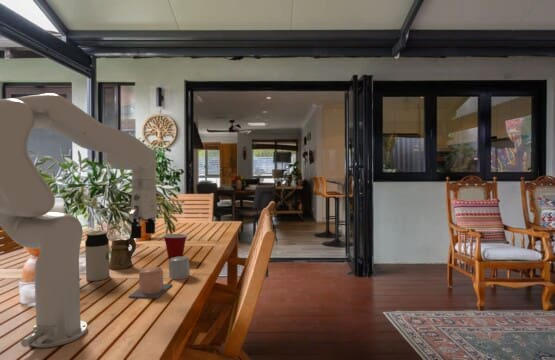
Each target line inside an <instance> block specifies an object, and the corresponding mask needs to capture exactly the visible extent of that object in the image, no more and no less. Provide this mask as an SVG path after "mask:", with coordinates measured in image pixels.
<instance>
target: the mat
mask: <svg viewBox="0 0 555 360" xmlns="http://www.w3.org/2000/svg"><path fill="white" fill-rule="evenodd" d="M172 287H173V284H172V283H163V289H162V290H161V291H160V292H157V293H153V294H142V293H141V292H140V287H139V288H137V289H136V290H135V291H134V292H132V293H131V294H129V296H128V298H130V299H159V298H160V297H161V296H163V295H164V294H165V293H166V292H167V291H168V290H169V289H170V288H172Z"/></svg>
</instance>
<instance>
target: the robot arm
mask: <svg viewBox="0 0 555 360" xmlns="http://www.w3.org/2000/svg"><path fill="white" fill-rule="evenodd" d="M40 129H48V130H50V131H53V132H54V133H56V134H58V135H59V136H61V137H63V138H65V139H67V140H68V141H70V142H72V143H73V144H75V145H76V146H78V147H80V148H83V149H86V150H89V151H94V152H99V153H106V162H107V164H108V165H109V166H110V167H111V168H113V169H115V170H119V171H121V170H123V171H125V170H126V171H127V170H128V171H129V170H131V190H132V191H131V201H130V211H129V213H128V219H129V223H130V224H129V226H130V229H131V230H130V236H131V238H134V239H142V222H143V220H146V221H145V234H149V235H150V234H155V232H156V217H157V216H158V201H157V192H156V190H157V182H156V181H157V152H156V150H155V149H152V148H149V147H148V146H147V145H146V144H145V143H144V142H143V141H141V140H140V139H138V138H137V137H135V136H133V135H132V134H130V133H127V132H125V131H123V130H120V129H118V128H115V127H112V126H110V125H107V124H104V123H102V122H100V121H98V120H97V119H96V118H94V117H93V116H91V115H90V114H88V113H87V112H86V111H84V110H82V109H81V108H79V107H78V106H77V105H75V104H74V103H73V102H71V101H70V100H68V98H65V97H64V96H62V95H60V94H56V93H41V94H33V95H26V96H20V97H12V98H0V227H1V228H2V230H4V232H5V233H6V234H7V235H8V236H9V238H11V240H12V241H13V242H14V243H16V244H18V245H19V246H20V247H21V246H22V247H24V248H29V249H35V250H36V249H37V250H39V254H38V257H37V259H36V260H35V265H34V270H33V272H34V273H33V274H34V275H33V276H34V297H35V325H34V326H33V331H32V332H31V334H29V335H27V336H26V337H24V338H22V340H21V341H20V344H21V347H23V348H27V347H28V346H29V347H30V346H32V347H34V348H40V349H41V348H43V349H44V348H45V349H46V348H54V347H60V346H62V345H65V344H69V343H71V342H73V341H75V340H78V339H79V338H81V337H83V335H85V334H86V333H87V332H88V326H89V325H88V323H87V322H86V321H84V320H81V288H80V284H81V283H80V249H81V243H82V239H83V233H84V232H83V225H82V223H81V221H80V220H79V219H78V218H77V217H75V216H74V215H72V214H69V213H65V212H57V211H51V210H53V208H54V206H55V203H56V197H55V195H54V194H55V193H54V192H53V190H52V188H51V187H50V185H49V184H48V182H47V181H46V180H45V178H44V177H43V175H42V174H41V172H40V171H39V169H38V168H37V166H35V164H34V162H33V160H32V158H31V156H30V154H29V151H28V142H29V139H30V136H31V133H32V131H33V130H40Z"/></svg>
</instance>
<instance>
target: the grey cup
mask: <svg viewBox="0 0 555 360" xmlns="http://www.w3.org/2000/svg"><path fill="white" fill-rule="evenodd" d="M168 270H169V271H168V272H169V273H168V274H169V275H168V277H169V279H171V280H183V279H187V278H188V277H189V276H190V274H191V272H190V259H189V257H187V256H184V255H183V256H180V257H173V258H171V259H170V261H169V260H168Z"/></svg>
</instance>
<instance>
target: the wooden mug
mask: <svg viewBox="0 0 555 360" xmlns="http://www.w3.org/2000/svg"><path fill="white" fill-rule="evenodd" d="M130 246H131V249H130ZM136 248H137V242H136V240H135V238H131V235H129V238H126V239H117V240H112V242H111V246H110V249H111V251H110V257H109V270H112V271H113V270H114V271H115V270H116V271H117V270H118V269H119V270H125V269H128V268H130V267H132V266H133V260H132V256H133V254H134V253H135V251H136Z"/></svg>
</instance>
